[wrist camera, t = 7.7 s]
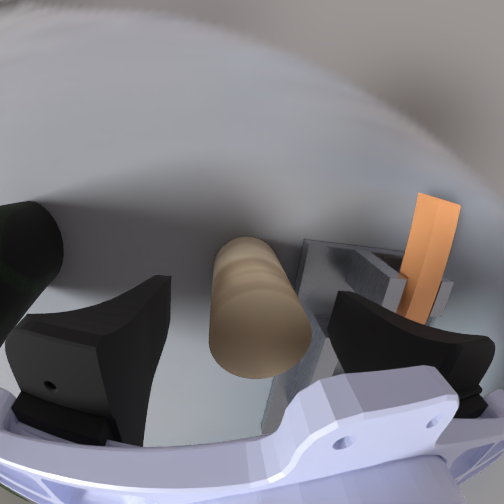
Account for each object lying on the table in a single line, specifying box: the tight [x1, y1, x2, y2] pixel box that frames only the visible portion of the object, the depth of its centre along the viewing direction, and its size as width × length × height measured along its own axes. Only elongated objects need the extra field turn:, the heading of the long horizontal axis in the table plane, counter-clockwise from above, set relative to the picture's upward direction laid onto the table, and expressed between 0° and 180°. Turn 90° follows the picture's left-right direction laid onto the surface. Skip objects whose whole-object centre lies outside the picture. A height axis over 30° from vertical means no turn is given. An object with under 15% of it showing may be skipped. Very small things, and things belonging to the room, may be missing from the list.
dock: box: [261, 239, 454, 434], centre depth 17 cm, size 16×10×5 cm, turn 172°
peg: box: [209, 236, 312, 379], centre depth 13 cm, size 4×4×7 cm
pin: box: [396, 193, 461, 325], centre depth 12 cm, size 7×2×2 cm, turn 172°
